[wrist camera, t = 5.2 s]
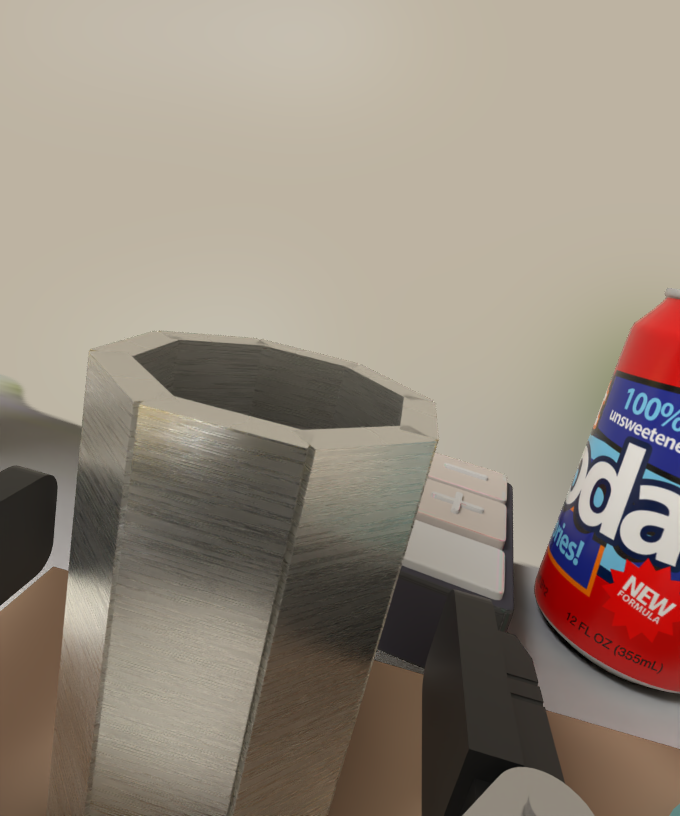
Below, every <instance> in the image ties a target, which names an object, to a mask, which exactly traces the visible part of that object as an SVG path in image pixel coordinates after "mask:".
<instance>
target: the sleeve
mask: <svg viewBox="0 0 680 816" xmlns="http://www.w3.org/2000/svg"><path fill="white" fill-rule="evenodd" d="M438 441H439V436H438V426H437V414H436V403H435V402H433V400H431V399H429V398H427V397H425V396H423V395H421V394H419V393H417V392H415V391H413V390H411V389H409V388H407V387H405V386H403V385H401V384H399V383H397V382H395V381H393V380H391V379H390V378H387V377H385V376H384V375H381V374H380V373H378V372H376V371H374V370H371V369H370V368H367V367H366V366H363V365H358V364H357V363H355V362H351V361H347V360H343V359H339V358H335V357H331V356H327V355H323V354H319V353H315V352H311V351H307V350H303V349H299V348H295V347H291V346H287V345H283V344H279V343H275V342H272V341H268V340H264V339H261V340H259V339H257V338H248V337H235V336H222V335H209V334H196V333H184V332H170V331H159V332H157V331H152V332H148V333H145V334H141V335H138V336H135V337H131V338H127V339H124V340H120V341H117V342H113V343H110V344H106V345H103V346H99V347H96V348H92V349H90V351H89V354H88V366H87V376H86V389H85V398H84V409H83V420H82V431H81V442H80V453H79V464H78V474H77V485H76V496H75V507H74V518H73V529H72V540H71V551H70V562H69V573H68V583H67V594H66V605H65V616H64V627H63V638H62V649H61V660H60V671H59V682H58V693H57V703H56V714H55V725H54V736H53V747H52V758H51V769H50V780H49V791H48V802H47V813H46V815H47V816H328V813H329V810H330V806H331V803H332V800H333V796H334V793H335V789H336V786H337V783H338V779H339V776H340V772H341V769H342V766H343V762H344V759H345V756H346V752H347V749H348V745H349V742H350V739H351V735H352V732H353V728H354V725H355V722H356V718H357V715H358V712H359V708H360V705H361V701H362V698H363V695H364V691H365V688H366V684H367V681H368V678H369V674H370V671H371V668H372V664H373V661H374V657H375V654H376V651H377V647H378V644H379V640H380V637H381V634H382V630H383V627H384V624H385V620H386V617H387V613H388V610H389V607H390V603H391V600H392V596H393V593H394V590H395V586H396V583H397V580H398V576H399V573H400V569H401V566H402V563H403V559H404V556H405V552H406V549H407V546H408V542H409V539H410V536H411V532H412V529H413V525H414V522H415V519H416V515H417V512H418V508H419V505H420V502H421V498H422V495H423V492H424V488H425V485H426V481H427V478H428V475H429V471H430V468H431V464H432V461H433V458H434V454H435V451H436V447H437V444H438Z"/></svg>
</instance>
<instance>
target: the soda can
mask: <svg viewBox="0 0 680 816" xmlns="http://www.w3.org/2000/svg"><path fill="white" fill-rule="evenodd" d="M665 296H666V298H665V300H664V301H663V302H662V303H660V304H659V305H658V306H657V307H656V308H654V309H653V310H652V311H650V312H649V313H648V314H646V315H645V316H644V317H642V318H641V319H640V320H638V321H637V322H635V323H634V324H633V326H632V328H631V330H630V333H629V335H628V337H627V340H626V342H625V345H624V347H623V350H622V352H621V355H620V358H619V360H618V363H617V366H616V368H615V371H614V373H613V376H612V379H611V381H610V384H609V387H608V389H607V392H606V395H605V397H604V400H603V402H602V405H601V408H600V410H599V413H598V415H597V418H596V421H595V424H594V426H593V429H592V431H591V434H590V437H589V439H588V442H587V444H586V447H585V450H584V452H583V455H582V458H581V460H580V463H579V465H578V468H577V471H576V473H575V476H574V479H573V481H572V484H571V487H570V489H569V492H568V494H567V497H566V500H565V502H564V505H563V507H562V510H561V513H560V515H559V518H558V521H557V523H556V526H555V528H554V531H553V534H552V536H551V539H550V542H549V544H548V547H547V549H546V552H545V555H544V558H543V560H542V563H541V565H540V568H539V571H538V574H537V577H536V581H535V585H534V593H535V597H536V601H537V603H538V606H539V608H540V610H541V611H542V613H543V614H544V616H545V617H546V619H547V620H548V622H549V623H550V624H551V625H552V627H553V628H554V629H555V630H556V631H557V632H558V633H559V634H560V635H561V636H562V637H563V638H564V639H565V640H566V641H567V642H568V643H569V644H570V645H571V646H572V647H573V648H574V649H576V650H577V651H578V652H579V653H580V654H582V655H583V656H584V657H586V658H587V659H588V660H590V661H591V662H593V663H594V664H596V665H597V666H599V667H601V668H602V669H604V670H606V671H608V672H610V673H612V674H614V675H616V676H618V677H620V678H622V679H625V680H627V681H630V682H633V683H636V684H639V685H643V686H647V687H650V688H653V689H657V690H661V691H665V692H671V693H679V694H680V290H679V289H672V288H667V289H666V291H665Z"/></svg>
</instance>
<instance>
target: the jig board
mask: <svg viewBox="0 0 680 816" xmlns="http://www.w3.org/2000/svg"><path fill="white" fill-rule="evenodd" d="M68 573H69V571H67V570H63V569H60V568H57V567H52V568H51V569H50V570H49V571H48V572H46V573H45V574H44V575H43V576H42V577H40V578H39V579H38V580H37V581H36V582H35V583H33V584H32V585H31V586H30V587H29V588H27V589H26V590H25V591H24V592H23V593H22V594H20V595H19V596H18V597H17V598H16V599H14V600H13V601H12V602H11V603H10V604H9V605H7V606H6V607H5V608H4V609H3V610H2V611H0V816H47V815H46V813H47V802H48V791H49V780H50V769H51V758H52V747H53V736H54V725H55V714H56V703H57V693H58V682H59V671H60V660H61V649H62V638H63V627H64V616H65V605H66V594H67V583H68ZM423 676H424V674H420V673H417V672H413V671H410V670H406V669H403V668H400V667H396V666H393V665H389V664H386V663H382V662H379V661H376V660H374V661H373V664H372V668H371V671H370V674H369V678H368V681H367V684H366V688H365V691H364V695H363V698H362V701H361V705H360V708H359V712H358V715H357V718H356V722H355V725H354V728H353V732H352V735H351V739H350V742H349V745H348V749H347V752H346V756H345V759H344V762H343V766H342V769H341V772H340V776H339V779H338V783H337V786H336V789H335V793H334V796H333V800H332V803H331V806H330V810H329V813H328V816H422V683H423ZM546 713H547V717H548V721H549V725H550V728H551V732H552V736H553V740H554V743H555V747H556V751H557V755H558V758H559V762H560V766H561V770H562V773H563V777H564V781H565V784H566V785H567V786H568V787H570V788H571V789H572V790H573V791H574V792H575V793H576V794H578V795H579V796H580V798H581V799H582V800H583V801H584V802H585V803H586V804H587V806H588V807H589V808H590V810H591V811H592V812H593V814H594V815H595V816H680V749H677V748H674V747H671V746H667V745H664V744H660V743H657V742H653V741H650V740H647V739H643V738H640V737H636V736H633V735H629V734H626V733H623V732H619V731H616V730H612V729H609V728H605V727H602V726H599V725H595V724H592V723H588V722H585V721H581V720H578V719H575V718H571V717H568V716H564V715H561V714H557V713H554V712H551V711H547V710H546Z"/></svg>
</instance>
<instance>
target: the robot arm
mask: <svg viewBox="0 0 680 816" xmlns="http://www.w3.org/2000/svg"><path fill="white" fill-rule="evenodd" d="M56 501H57V481H56V479H55V477H54V476H52V475H49V474H45V473H42V472H38V471H35V470H31V469H27V468H24V467H20V466H11V467H9V468H7V469H5V470H3V471H1V472H0V605H2V604H3V603H4V602H5V601H6V600H8V599H9V598H10V597H11V596H12V595H14V594H15V593H16V592H17V591H18V590H20V589H21V588H22V587H23V586H24V585H26V584H27V583H28V582H29V581H30V580H32V579H33V578H34V577H35V576H36V575H37V574H38V573H39V572H40V571H41V570H42V569H43V567H44V566H45V564H46V562H47V560H48V558H49V556H50V554H51V551H52V547H53V538H54V526H55V514H56ZM422 816H595V815H594V814H593V812H592V811H591V810H590V808H589V807H588V806H587V804H586V803H585V802H584V801H583V800H582V799H581V798H580V796H579V795H578V794H576V793H575V792H574V791H573V790H572V789H571V788H570V787H568V786H567V785H566V784H565V781H564V777H563V773H562V770H561V766H560V762H559V758H558V755H557V751H556V747H555V743H554V740H553V736H552V732H551V728H550V725H549V721H548V717H547V713H546V710H545V707H543V698H542V695H541V691H540V687H538V680H537V676H536V672H535V668H534V665H533V661H532V658H531V657H530V655H529V654H528V652H527V651H526V650H525V648H524V647H523V645H522V644H521V643H520V641H519V640H518V639H517V637H516V636H515V635H512V634H509V633H505V632H502V631H498V627H497V622H496V617H495V612H494V607H493V603H492V601H491V600H490V599H487V598H483V597H479V596H476V595H472V594H469V593H465V592H462V591H458V590H455V589H452V590H451V591H450V592H449V594H448V597H447V599H446V602H445V605H444V608H443V611H442V614H441V617H440V620H439V623H438V626H437V629H436V632H435V635H434V638H433V641H432V644H431V647H430V650H429V654H428V657H427V661H426V665H425V670H424V676H423V683H422Z"/></svg>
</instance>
